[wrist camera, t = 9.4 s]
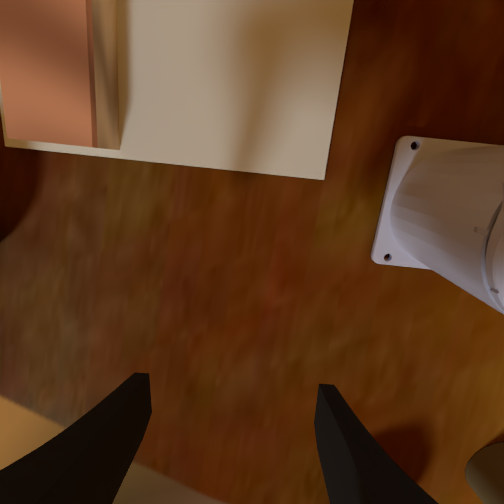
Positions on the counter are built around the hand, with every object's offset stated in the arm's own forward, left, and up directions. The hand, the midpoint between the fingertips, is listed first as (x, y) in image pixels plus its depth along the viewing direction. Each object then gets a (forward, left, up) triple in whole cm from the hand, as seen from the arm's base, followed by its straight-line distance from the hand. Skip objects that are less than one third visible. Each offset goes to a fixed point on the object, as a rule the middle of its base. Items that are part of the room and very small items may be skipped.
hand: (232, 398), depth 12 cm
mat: (+6, -16, -9) cm, 19 cm away
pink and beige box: (+11, -14, -9) cm, 20 cm away
